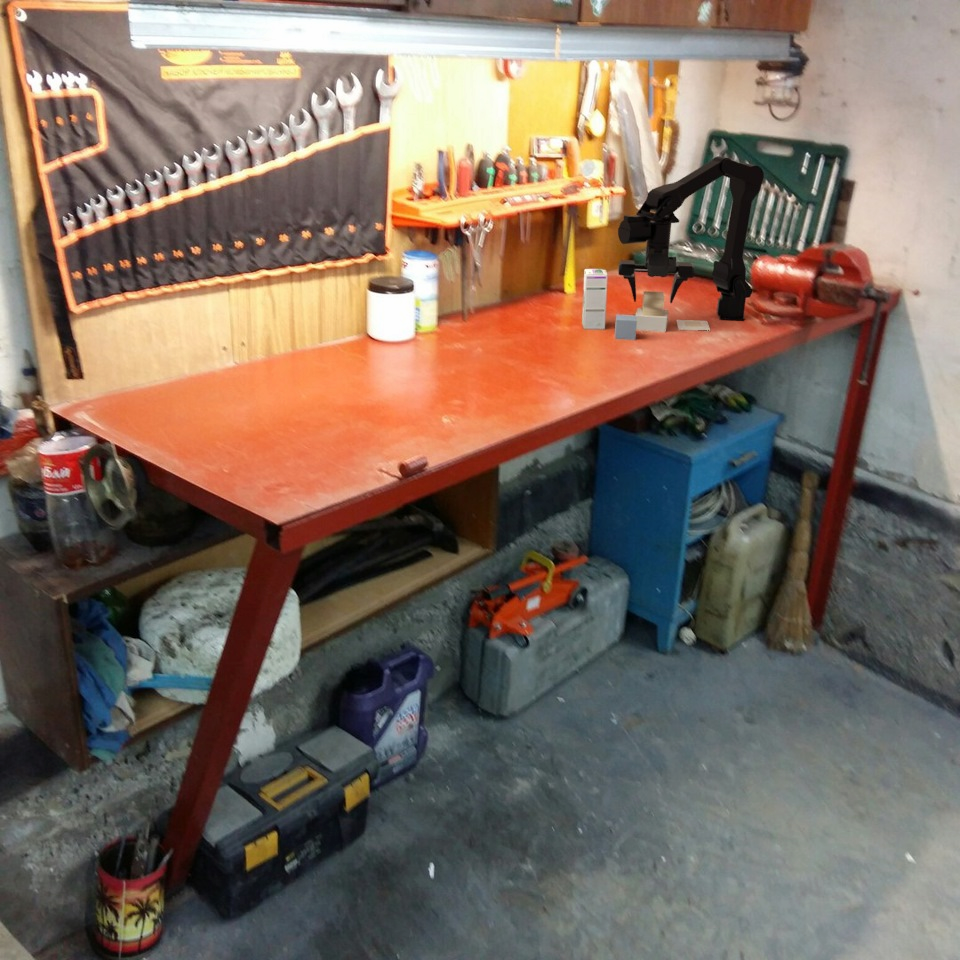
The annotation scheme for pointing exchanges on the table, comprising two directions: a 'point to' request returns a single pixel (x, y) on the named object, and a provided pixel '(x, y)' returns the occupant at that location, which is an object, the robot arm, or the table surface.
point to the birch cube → (653, 303)
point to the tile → (692, 325)
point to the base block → (651, 321)
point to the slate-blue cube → (625, 327)
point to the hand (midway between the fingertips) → (652, 302)
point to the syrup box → (594, 298)
